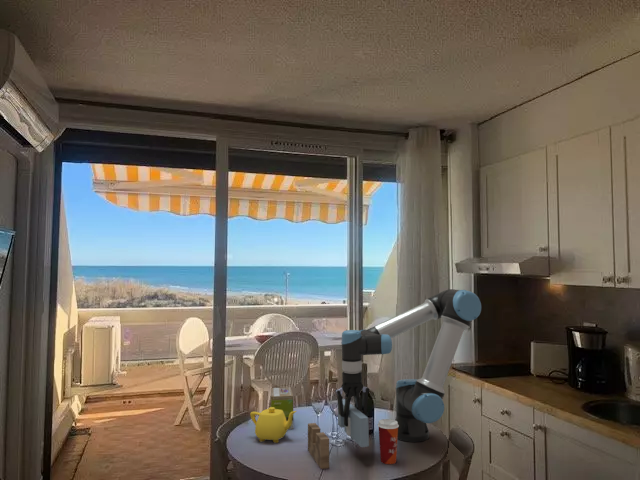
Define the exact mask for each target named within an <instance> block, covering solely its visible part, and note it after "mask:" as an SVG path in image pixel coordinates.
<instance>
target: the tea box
mask: <svg viewBox="0 0 640 480" xmlns="http://www.w3.org/2000/svg"><path fill="white" fill-rule="evenodd" d="M270 407H274V408H275V409H279V410H282V411H283V412H284V414H285V417H286V420H287V421H288V418H289V414H290V412H293V411H294V393H293V390H292V387H290V386H289V387H270ZM293 429H294V416H293V417H292V424H291V427H290V428H289V429H288V430H293Z"/></svg>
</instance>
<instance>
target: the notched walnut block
mask: <svg viewBox="0 0 640 480" xmlns="http://www.w3.org/2000/svg"><path fill="white" fill-rule="evenodd" d="M307 451H308V453H309V455H311V457H312V458H313V460H314V461H315V462H316V464H317V466H318V467H319V469H320V470H326V469H330V438H329V436H327V434H326V433H325V432H324V431H323V432H321V428H320V426H319V425H318V424H317V422H311V423H307Z"/></svg>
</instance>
